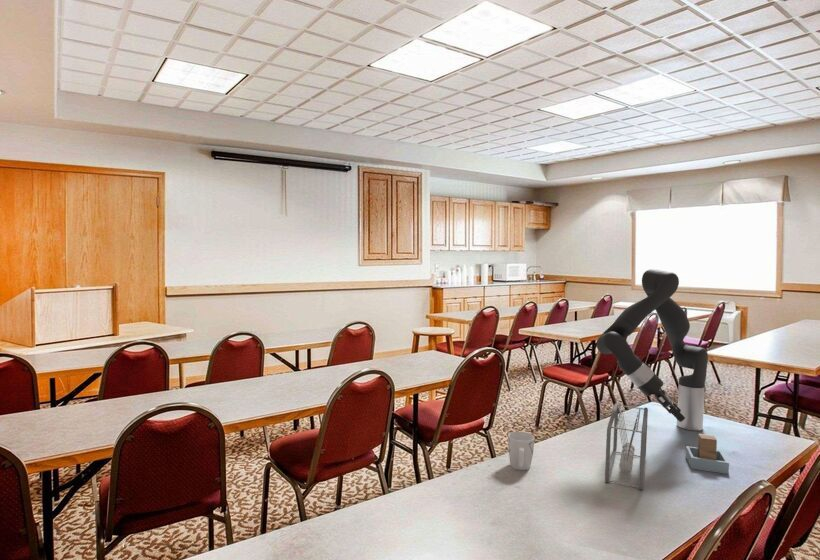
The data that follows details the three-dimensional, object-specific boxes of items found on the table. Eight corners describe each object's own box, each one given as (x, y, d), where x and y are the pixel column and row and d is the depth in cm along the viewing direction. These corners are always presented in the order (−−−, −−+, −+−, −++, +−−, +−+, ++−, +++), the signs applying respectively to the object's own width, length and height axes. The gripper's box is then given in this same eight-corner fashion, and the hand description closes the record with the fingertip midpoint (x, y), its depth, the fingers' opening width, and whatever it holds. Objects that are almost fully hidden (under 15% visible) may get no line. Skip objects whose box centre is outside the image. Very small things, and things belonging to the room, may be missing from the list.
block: (697, 459, 166) (698, 433, 166) (712, 461, 165) (713, 435, 164) (699, 464, 162) (701, 438, 162) (715, 467, 160) (716, 440, 160)
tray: (685, 456, 171) (686, 446, 170) (720, 461, 167) (721, 450, 166) (690, 468, 161) (691, 457, 160) (728, 474, 157) (729, 463, 157)
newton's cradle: (613, 450, 174) (615, 401, 174) (645, 456, 170) (648, 406, 169) (604, 485, 148) (606, 427, 147) (642, 493, 143) (645, 433, 142)
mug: (534, 477, 152) (535, 445, 151) (506, 474, 153) (507, 443, 153) (533, 462, 163) (533, 432, 162) (507, 459, 165) (508, 430, 164)
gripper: (655, 376, 162) (693, 415, 158) (651, 368, 175) (686, 403, 171) (637, 390, 164) (674, 429, 160) (634, 381, 177) (668, 416, 174)
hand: (680, 416), depth 166 cm, fingers open, 8 cm apart
